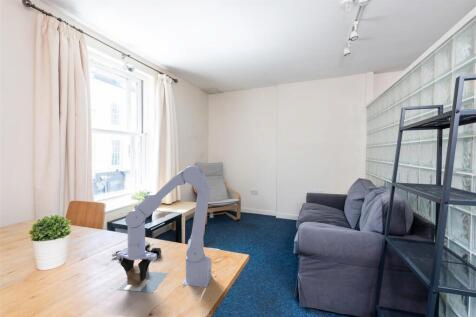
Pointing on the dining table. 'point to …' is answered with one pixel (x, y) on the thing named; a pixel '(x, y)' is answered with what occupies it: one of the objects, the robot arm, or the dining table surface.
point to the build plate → (156, 251)
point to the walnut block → (134, 276)
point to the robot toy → (147, 247)
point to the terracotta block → (139, 262)
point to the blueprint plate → (146, 283)
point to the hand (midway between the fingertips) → (136, 278)
